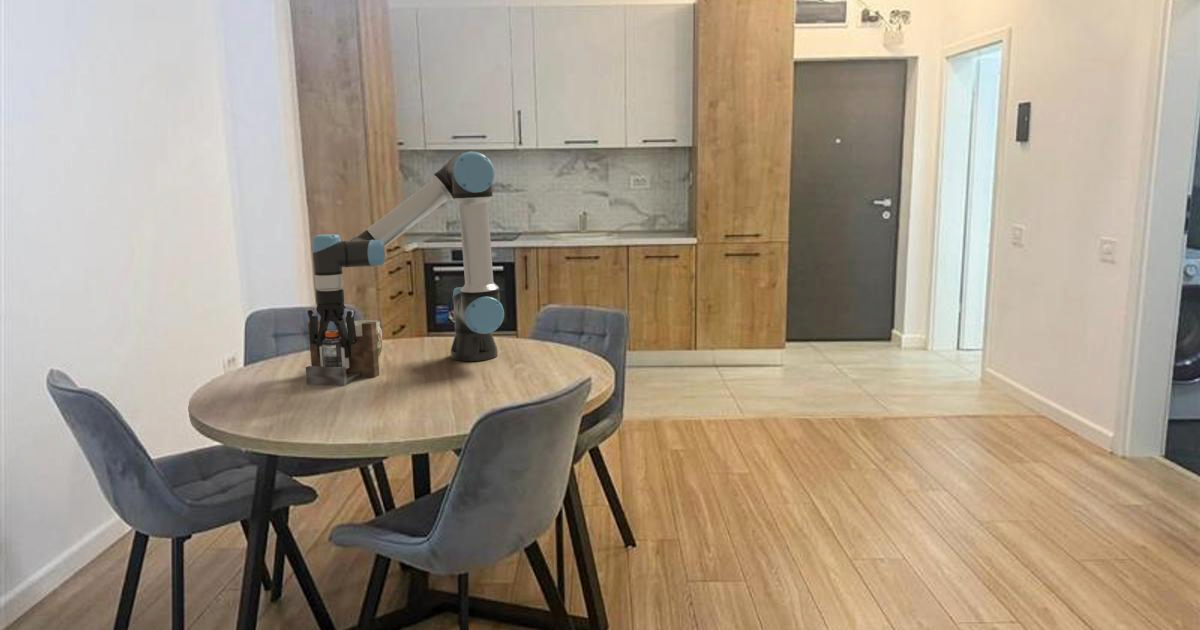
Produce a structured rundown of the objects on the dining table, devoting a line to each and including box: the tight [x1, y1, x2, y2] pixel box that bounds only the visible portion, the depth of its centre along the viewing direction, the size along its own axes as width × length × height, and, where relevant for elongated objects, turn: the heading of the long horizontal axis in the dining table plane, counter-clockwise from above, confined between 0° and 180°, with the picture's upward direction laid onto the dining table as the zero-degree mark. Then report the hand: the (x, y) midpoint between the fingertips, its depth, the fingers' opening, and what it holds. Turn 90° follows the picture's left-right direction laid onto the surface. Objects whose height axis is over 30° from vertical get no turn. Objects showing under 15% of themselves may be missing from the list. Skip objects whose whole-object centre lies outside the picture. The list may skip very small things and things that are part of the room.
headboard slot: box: [305, 320, 380, 387], centre depth 226 cm, size 20×13×16 cm, turn 80°
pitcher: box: [344, 319, 383, 360], centre depth 246 cm, size 11×18×14 cm, turn 164°
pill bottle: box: [322, 329, 343, 367], centre depth 225 cm, size 6×6×11 cm
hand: (335, 368), depth 226 cm, fingers closed on pill bottle, 6 cm apart
